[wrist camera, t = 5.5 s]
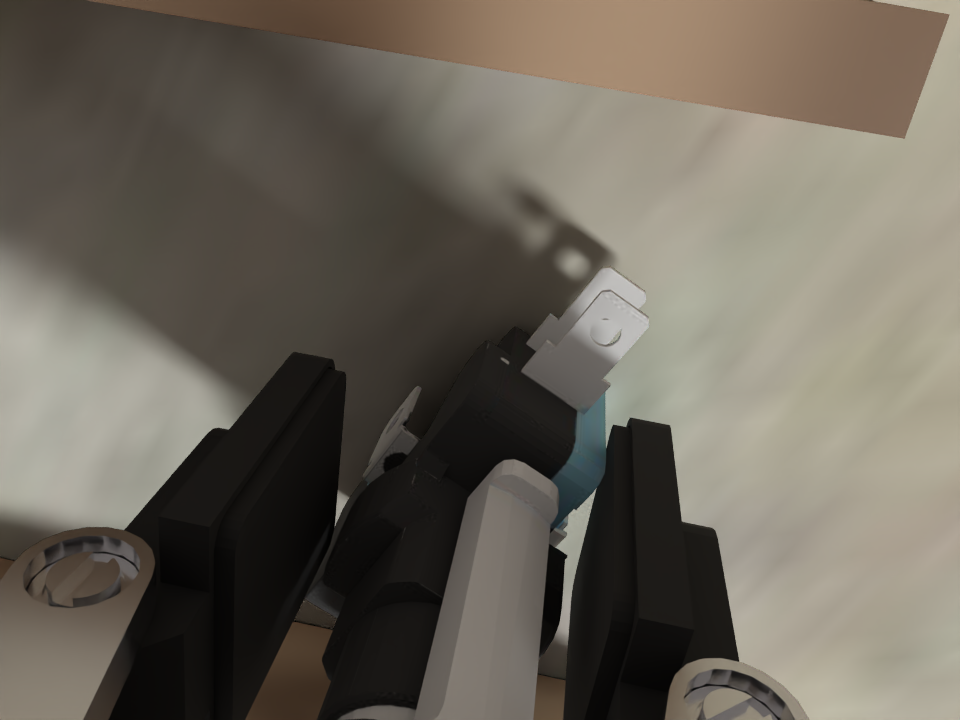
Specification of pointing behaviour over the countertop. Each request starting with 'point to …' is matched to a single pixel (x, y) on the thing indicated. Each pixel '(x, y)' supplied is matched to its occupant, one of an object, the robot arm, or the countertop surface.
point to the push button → (473, 524)
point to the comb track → (620, 66)
